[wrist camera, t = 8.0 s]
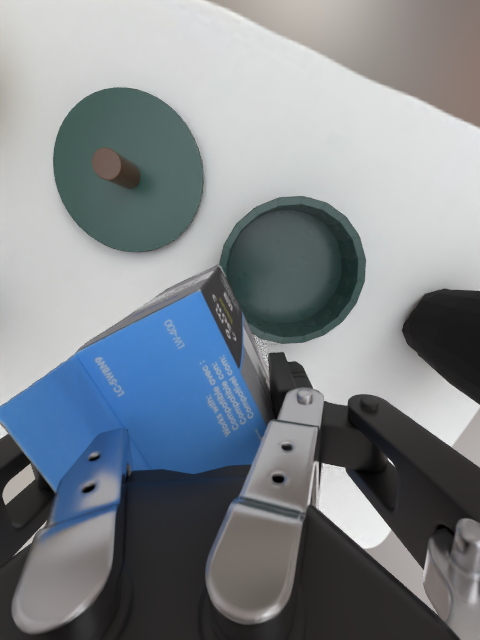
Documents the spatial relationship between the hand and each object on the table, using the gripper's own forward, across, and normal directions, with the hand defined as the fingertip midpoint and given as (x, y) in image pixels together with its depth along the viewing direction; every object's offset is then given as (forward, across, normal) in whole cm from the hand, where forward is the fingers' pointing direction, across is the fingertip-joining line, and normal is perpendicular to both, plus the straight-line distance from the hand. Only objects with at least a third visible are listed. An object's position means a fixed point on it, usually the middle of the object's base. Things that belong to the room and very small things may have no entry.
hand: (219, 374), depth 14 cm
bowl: (+19, -6, -3) cm, 20 cm away
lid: (+18, +9, -13) cm, 24 cm away
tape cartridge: (+5, 0, 0) cm, 5 cm away
